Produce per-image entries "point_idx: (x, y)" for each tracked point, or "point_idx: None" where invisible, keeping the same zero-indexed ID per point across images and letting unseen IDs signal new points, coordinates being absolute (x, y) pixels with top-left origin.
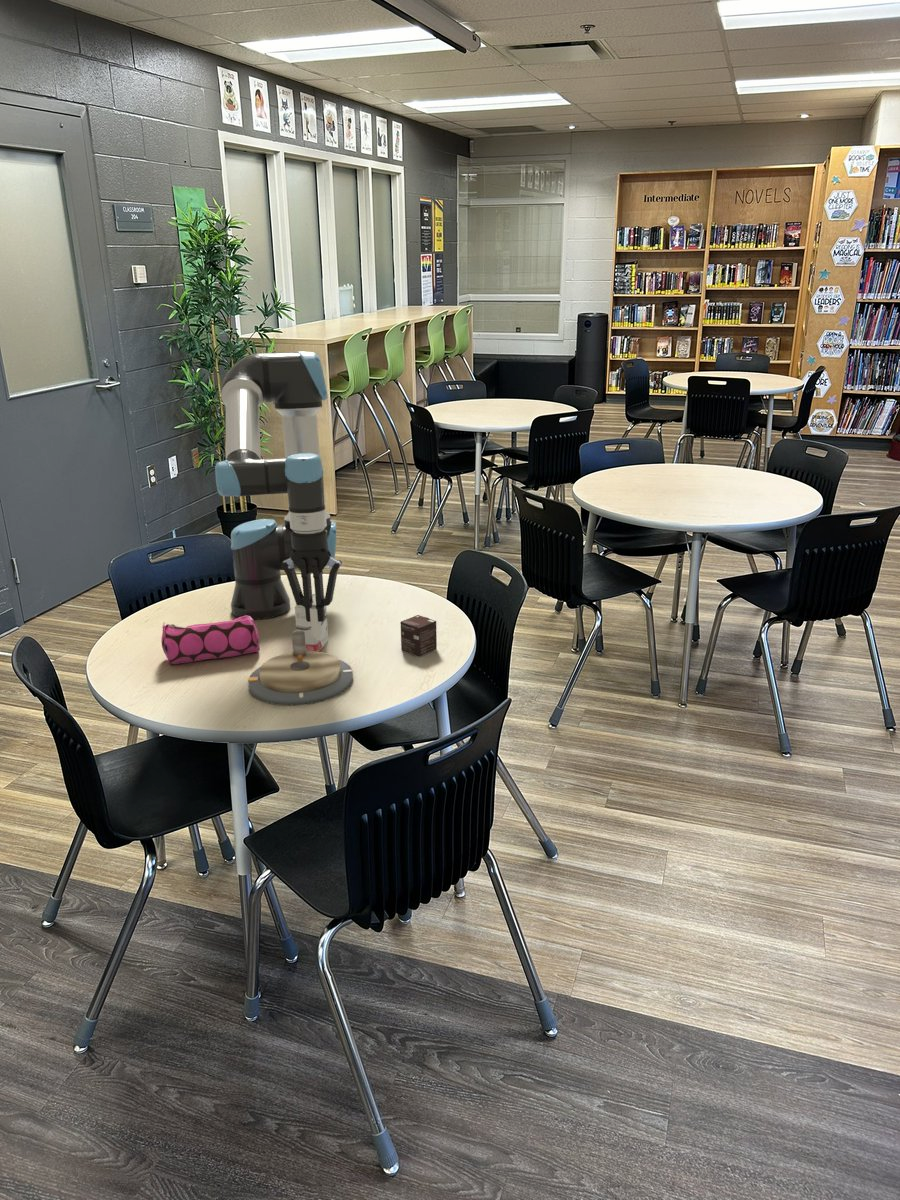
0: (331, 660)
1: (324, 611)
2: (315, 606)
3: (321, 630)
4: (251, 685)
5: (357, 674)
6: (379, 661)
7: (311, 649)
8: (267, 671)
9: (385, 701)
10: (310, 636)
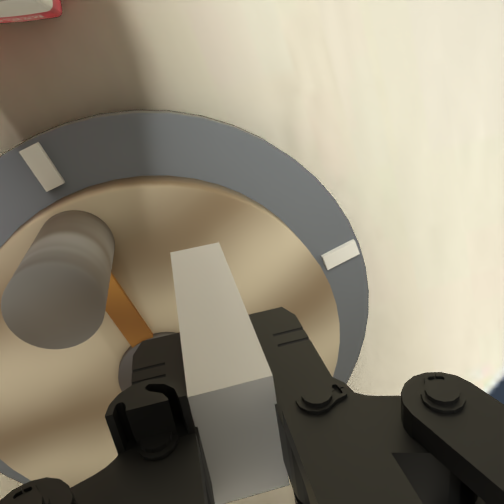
0: (279, 269)
1: (315, 349)
2: (246, 432)
3: (222, 251)
4: (11, 470)
5: (355, 198)
6: (419, 35)
7: (28, 17)
8: (43, 451)
9: (484, 355)
10: (3, 8)
